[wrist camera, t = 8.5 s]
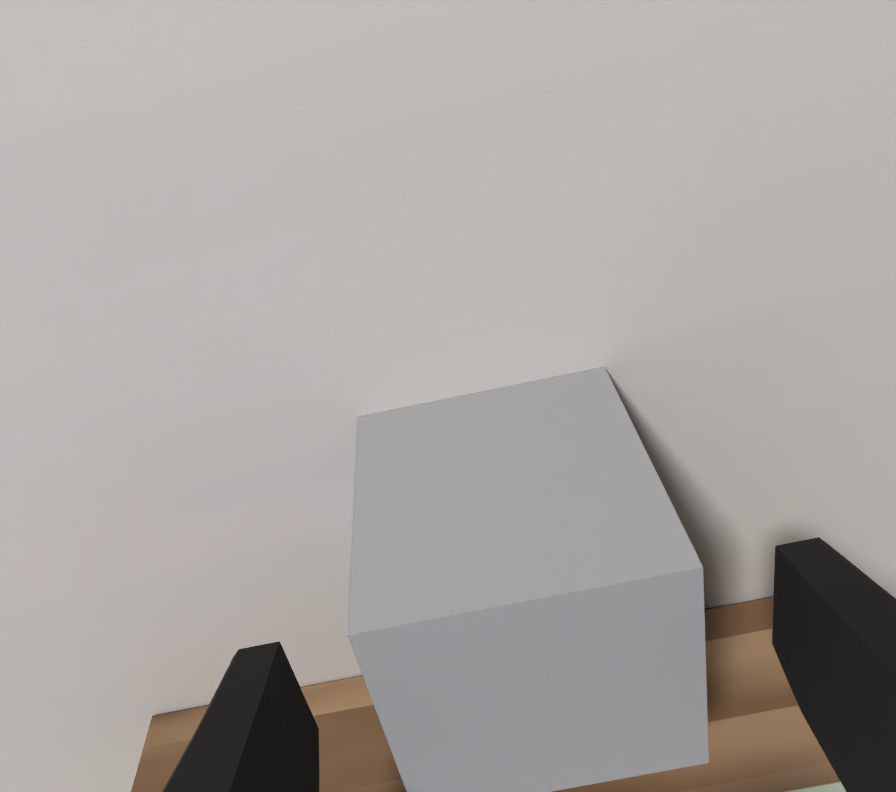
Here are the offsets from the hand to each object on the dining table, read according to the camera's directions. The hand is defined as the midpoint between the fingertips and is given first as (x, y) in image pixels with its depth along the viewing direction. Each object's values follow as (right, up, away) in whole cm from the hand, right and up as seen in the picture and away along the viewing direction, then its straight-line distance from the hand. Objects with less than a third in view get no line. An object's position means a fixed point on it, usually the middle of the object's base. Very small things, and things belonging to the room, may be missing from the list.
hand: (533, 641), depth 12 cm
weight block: (0, +2, +3) cm, 4 cm away
